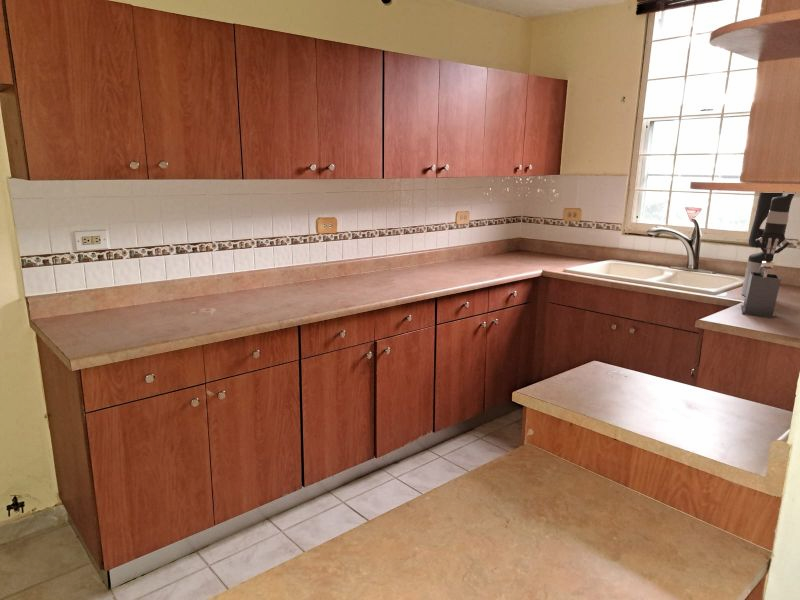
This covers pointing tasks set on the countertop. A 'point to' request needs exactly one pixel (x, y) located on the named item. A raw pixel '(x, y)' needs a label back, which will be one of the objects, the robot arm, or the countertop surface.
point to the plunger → (767, 267)
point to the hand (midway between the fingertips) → (768, 262)
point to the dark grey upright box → (761, 295)
